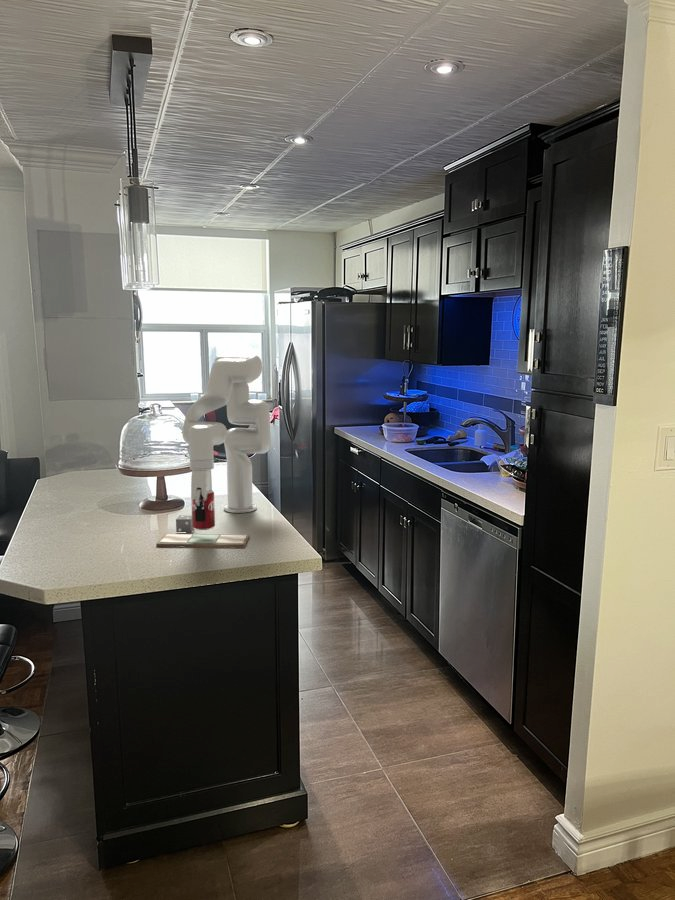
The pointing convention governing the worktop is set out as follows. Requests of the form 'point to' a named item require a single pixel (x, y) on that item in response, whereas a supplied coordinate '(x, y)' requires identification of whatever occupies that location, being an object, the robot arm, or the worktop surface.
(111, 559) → the worktop surface
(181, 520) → the die
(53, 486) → the worktop surface
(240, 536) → the board
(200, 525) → the soda can
